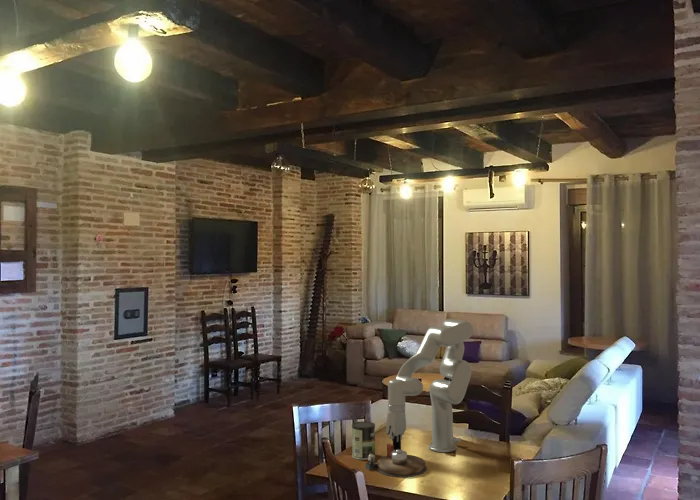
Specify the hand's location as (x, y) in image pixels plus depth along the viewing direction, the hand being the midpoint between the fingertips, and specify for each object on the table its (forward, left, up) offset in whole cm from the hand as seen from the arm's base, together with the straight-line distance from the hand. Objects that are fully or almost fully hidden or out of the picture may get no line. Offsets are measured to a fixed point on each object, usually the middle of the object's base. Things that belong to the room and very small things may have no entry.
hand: (396, 449), depth 256 cm
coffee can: (+11, -10, -4) cm, 15 cm away
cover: (+6, +11, -1) cm, 12 cm away
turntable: (+5, +11, -4) cm, 13 cm away
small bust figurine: (+16, +5, -4) cm, 17 cm away
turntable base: (+5, +11, -4) cm, 13 cm away
